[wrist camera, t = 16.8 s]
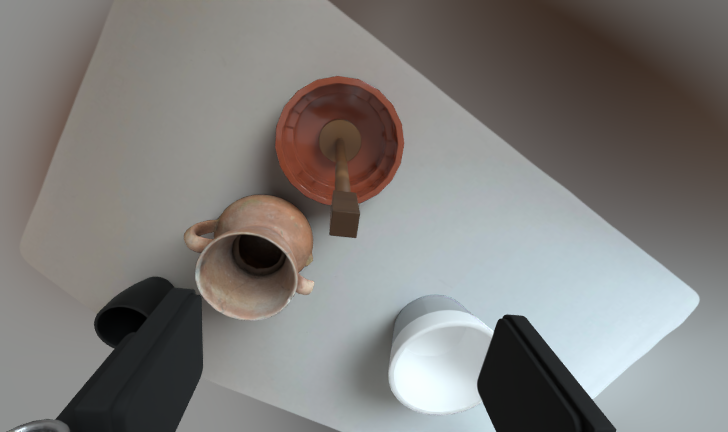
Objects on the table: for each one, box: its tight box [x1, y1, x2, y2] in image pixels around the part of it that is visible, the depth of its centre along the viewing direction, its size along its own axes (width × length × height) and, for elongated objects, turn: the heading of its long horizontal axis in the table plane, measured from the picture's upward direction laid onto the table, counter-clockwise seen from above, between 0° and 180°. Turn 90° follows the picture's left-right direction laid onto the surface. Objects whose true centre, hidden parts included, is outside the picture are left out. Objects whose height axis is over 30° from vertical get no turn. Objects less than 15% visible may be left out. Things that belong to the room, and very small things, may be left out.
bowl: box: [388, 295, 494, 415], centre depth 59 cm, size 19×19×11 cm
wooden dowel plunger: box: [319, 119, 361, 238], centre depth 35 cm, size 6×6×32 cm
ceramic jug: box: [184, 195, 314, 321], centre depth 48 cm, size 18×14×14 cm
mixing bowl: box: [275, 76, 404, 205], centre depth 47 cm, size 17×17×6 cm
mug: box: [94, 277, 174, 348], centre depth 53 cm, size 8×12×10 cm
